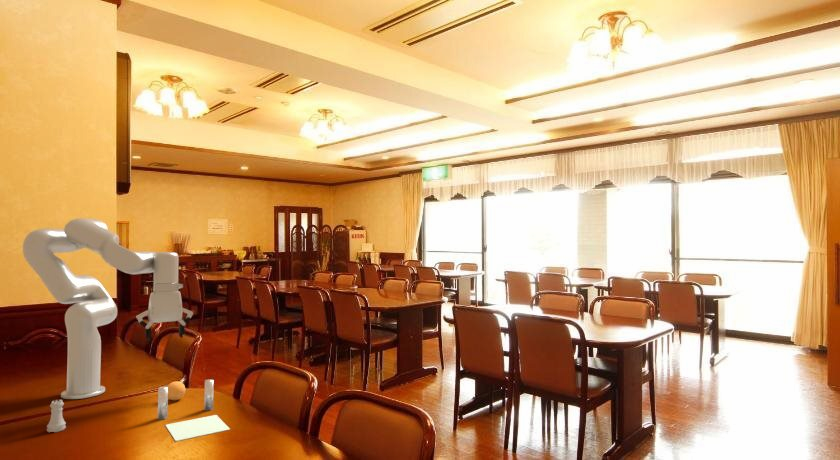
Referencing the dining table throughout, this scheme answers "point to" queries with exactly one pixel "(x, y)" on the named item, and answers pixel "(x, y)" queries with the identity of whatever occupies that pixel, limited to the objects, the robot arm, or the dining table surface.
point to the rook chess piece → (56, 417)
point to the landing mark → (196, 427)
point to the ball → (176, 390)
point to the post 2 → (208, 395)
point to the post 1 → (162, 402)
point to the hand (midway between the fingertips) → (165, 338)
